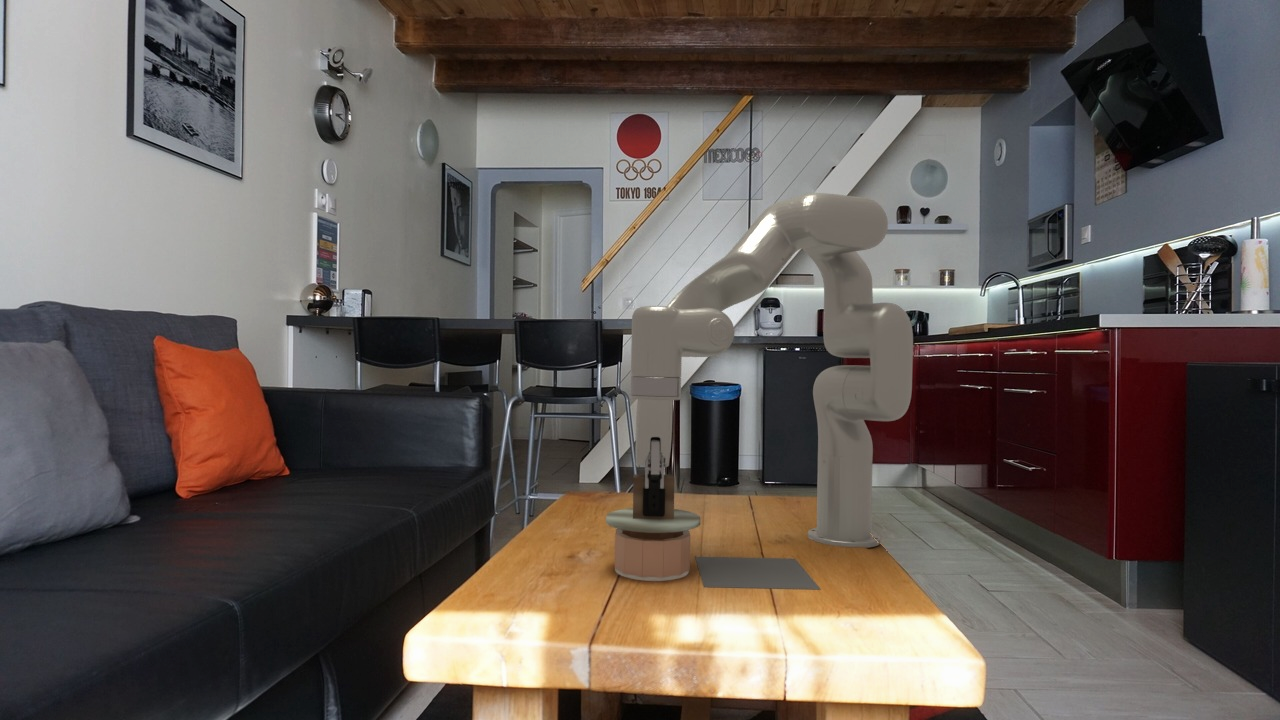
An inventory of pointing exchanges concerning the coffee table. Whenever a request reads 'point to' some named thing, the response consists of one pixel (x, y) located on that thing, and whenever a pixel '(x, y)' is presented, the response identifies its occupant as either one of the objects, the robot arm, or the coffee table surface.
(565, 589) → the coffee table surface
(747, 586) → the mat
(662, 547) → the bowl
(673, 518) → the lid
